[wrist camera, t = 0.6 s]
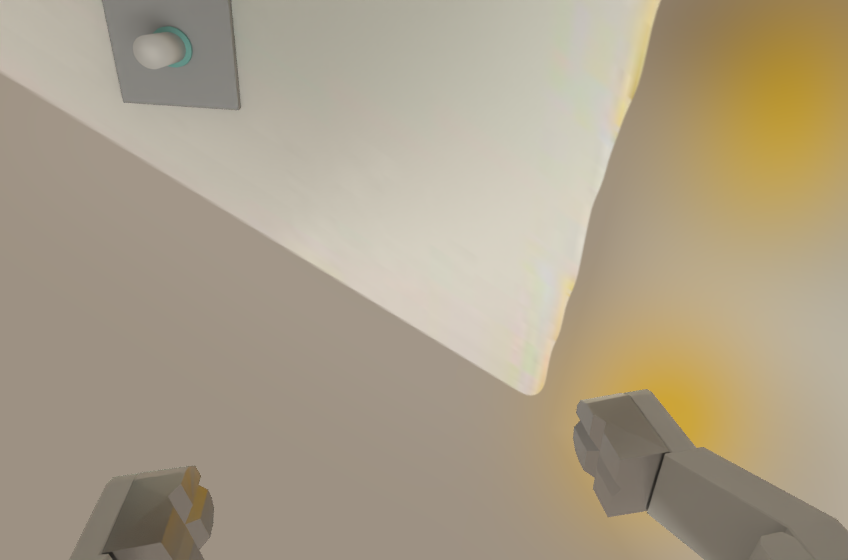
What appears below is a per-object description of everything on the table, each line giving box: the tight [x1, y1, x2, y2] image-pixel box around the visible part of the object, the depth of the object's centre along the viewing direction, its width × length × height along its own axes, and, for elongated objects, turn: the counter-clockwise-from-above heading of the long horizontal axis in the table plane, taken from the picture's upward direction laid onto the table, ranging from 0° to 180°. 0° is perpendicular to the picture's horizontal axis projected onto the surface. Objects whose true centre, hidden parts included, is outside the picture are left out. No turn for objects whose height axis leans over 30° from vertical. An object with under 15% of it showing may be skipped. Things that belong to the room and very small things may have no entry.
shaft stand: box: [102, 0, 241, 110], centre depth 39 cm, size 10×10×7 cm
